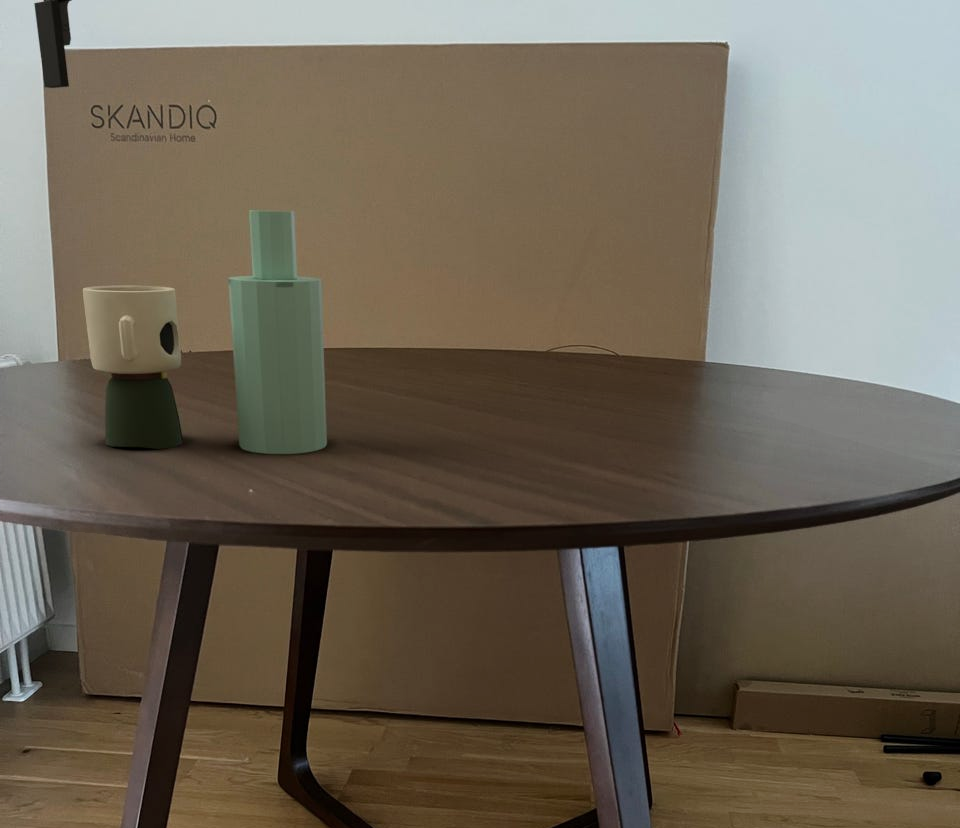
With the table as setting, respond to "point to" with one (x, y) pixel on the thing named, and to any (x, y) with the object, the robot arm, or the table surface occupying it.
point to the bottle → (278, 344)
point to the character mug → (136, 361)
